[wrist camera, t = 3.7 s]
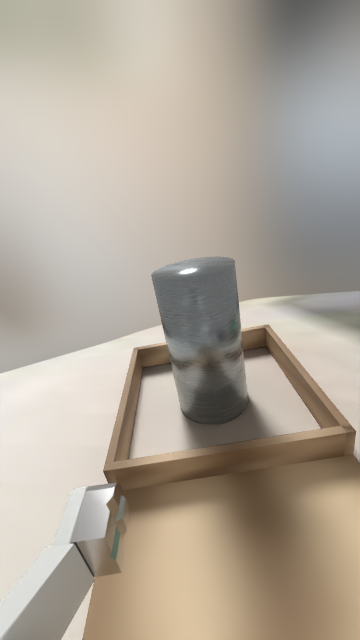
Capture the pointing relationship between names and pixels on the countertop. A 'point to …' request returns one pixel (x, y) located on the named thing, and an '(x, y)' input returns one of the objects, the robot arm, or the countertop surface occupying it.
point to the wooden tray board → (236, 528)
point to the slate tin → (203, 336)
